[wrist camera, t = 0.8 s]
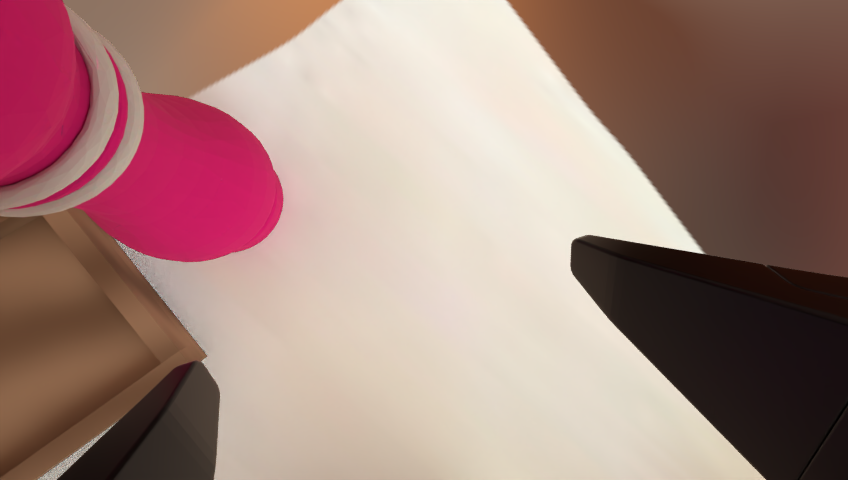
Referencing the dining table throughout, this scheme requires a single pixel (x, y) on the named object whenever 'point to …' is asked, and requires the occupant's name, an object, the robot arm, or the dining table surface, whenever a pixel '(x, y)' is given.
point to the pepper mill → (122, 145)
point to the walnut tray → (74, 338)
